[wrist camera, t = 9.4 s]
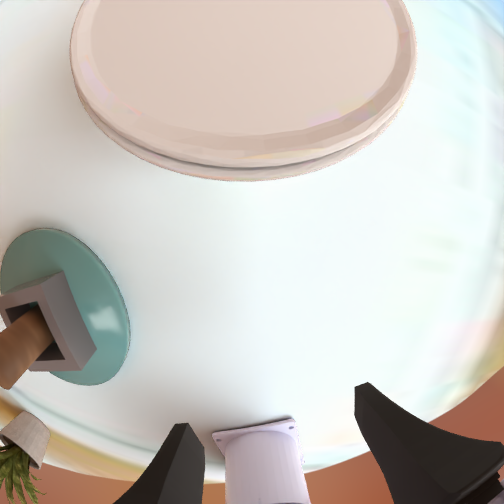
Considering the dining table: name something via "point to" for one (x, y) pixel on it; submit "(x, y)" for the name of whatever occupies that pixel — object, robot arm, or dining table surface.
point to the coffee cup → (243, 80)
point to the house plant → (22, 454)
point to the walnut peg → (22, 345)
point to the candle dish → (67, 305)
